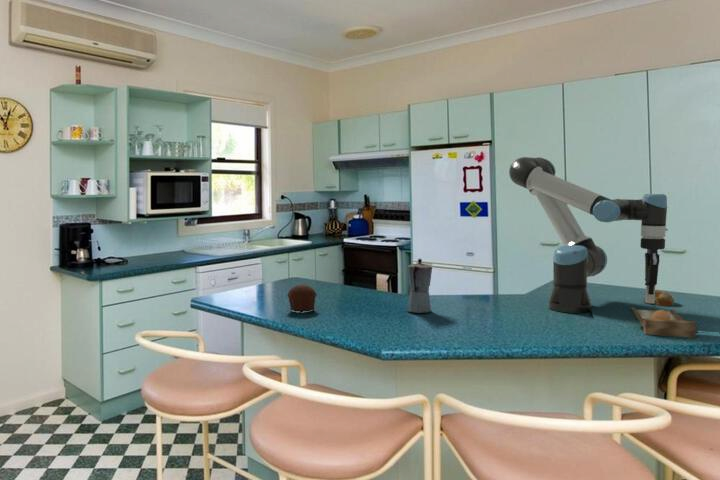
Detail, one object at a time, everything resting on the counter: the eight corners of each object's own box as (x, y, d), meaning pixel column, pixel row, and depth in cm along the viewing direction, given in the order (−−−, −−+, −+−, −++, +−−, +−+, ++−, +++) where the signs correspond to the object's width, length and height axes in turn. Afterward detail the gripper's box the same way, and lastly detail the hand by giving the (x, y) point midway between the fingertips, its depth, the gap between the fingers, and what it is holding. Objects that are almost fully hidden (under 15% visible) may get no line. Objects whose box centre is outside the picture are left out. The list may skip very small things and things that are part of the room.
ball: (651, 327, 157) (654, 316, 155) (649, 316, 161) (653, 305, 158) (669, 330, 156) (673, 318, 153) (667, 319, 159) (671, 307, 157)
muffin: (323, 309, 195) (322, 284, 194) (305, 315, 185) (304, 289, 185) (300, 306, 201) (299, 282, 200) (281, 312, 192) (280, 286, 191)
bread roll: (673, 319, 183) (684, 300, 181) (646, 307, 184) (657, 288, 183) (662, 312, 192) (673, 294, 191) (636, 301, 194) (647, 283, 193)
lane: (645, 334, 152) (645, 320, 152) (631, 312, 179) (631, 300, 179) (695, 337, 148) (695, 323, 147) (672, 315, 174) (673, 302, 174)
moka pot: (434, 307, 194) (434, 256, 192) (429, 317, 179) (429, 262, 177) (410, 306, 196) (409, 256, 195) (403, 316, 182) (402, 262, 180)
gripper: (669, 239, 169) (665, 307, 171) (661, 236, 181) (658, 299, 183) (643, 239, 171) (640, 305, 174) (638, 235, 183) (635, 298, 186)
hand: (649, 302), depth 178 cm, fingers closed
